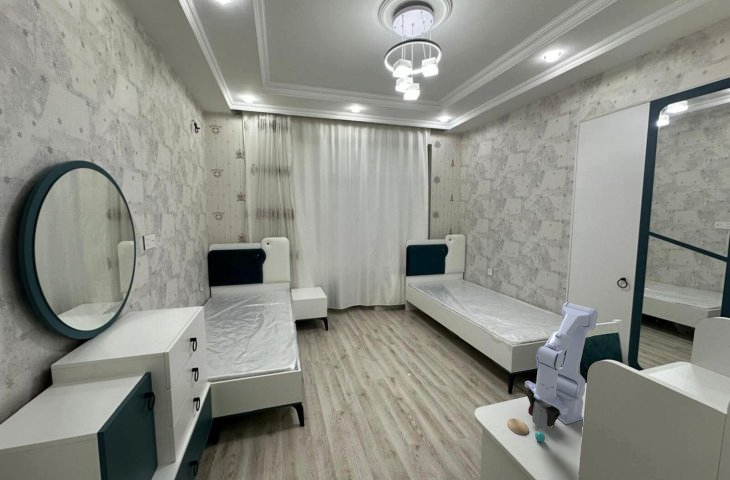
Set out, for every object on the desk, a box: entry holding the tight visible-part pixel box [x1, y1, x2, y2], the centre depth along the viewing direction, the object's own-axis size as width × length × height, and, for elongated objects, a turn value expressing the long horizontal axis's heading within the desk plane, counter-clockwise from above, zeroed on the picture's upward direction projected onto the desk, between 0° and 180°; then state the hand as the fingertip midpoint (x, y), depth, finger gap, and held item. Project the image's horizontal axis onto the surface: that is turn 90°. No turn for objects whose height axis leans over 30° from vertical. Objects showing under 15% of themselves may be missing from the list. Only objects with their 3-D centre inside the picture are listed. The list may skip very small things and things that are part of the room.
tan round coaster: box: [506, 418, 530, 436], centre depth 106 cm, size 7×7×1 cm
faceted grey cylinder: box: [531, 399, 553, 430], centre depth 99 cm, size 6×6×7 cm
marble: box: [534, 431, 546, 443], centre depth 100 cm, size 3×3×3 cm
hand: (542, 418), depth 99 cm, fingers closed on faceted grey cylinder, 6 cm apart
